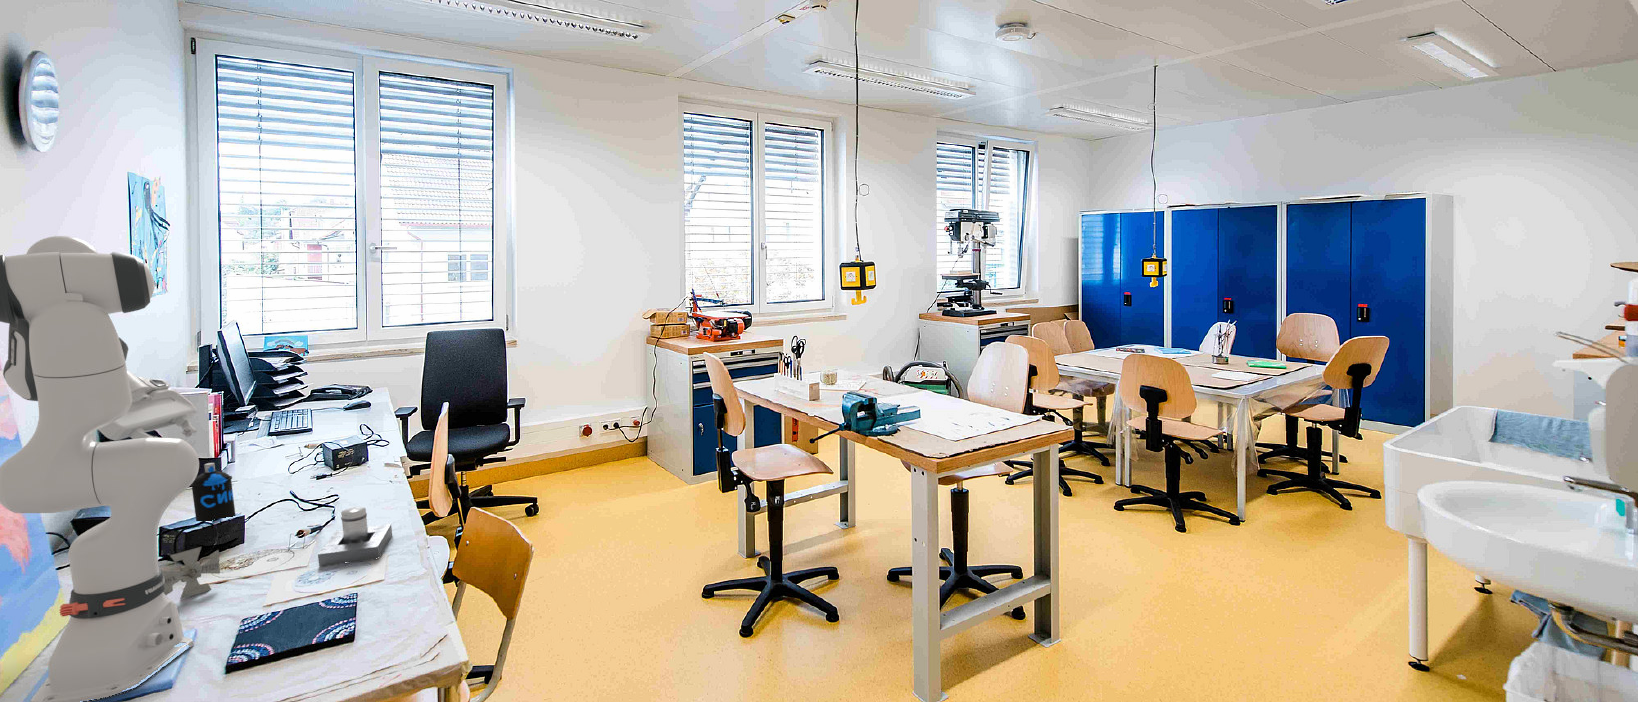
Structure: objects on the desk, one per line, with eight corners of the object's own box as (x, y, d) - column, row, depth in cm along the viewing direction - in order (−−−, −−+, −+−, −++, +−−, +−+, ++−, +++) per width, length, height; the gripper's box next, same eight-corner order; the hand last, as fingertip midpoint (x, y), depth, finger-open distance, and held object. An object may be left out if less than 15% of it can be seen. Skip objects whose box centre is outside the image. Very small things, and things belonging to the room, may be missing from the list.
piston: (367, 552, 178) (363, 512, 177) (342, 556, 177) (338, 515, 175) (372, 545, 183) (368, 505, 182) (347, 548, 182) (343, 508, 180)
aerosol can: (191, 543, 186) (181, 466, 184) (229, 532, 194) (220, 457, 191) (207, 549, 182) (197, 470, 180) (246, 537, 190) (236, 461, 187)
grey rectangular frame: (378, 558, 175) (377, 546, 174) (319, 566, 171) (317, 554, 170) (392, 535, 190) (391, 524, 189) (337, 542, 186) (336, 530, 185)
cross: (219, 584, 162) (213, 540, 161) (225, 586, 161) (220, 542, 160) (160, 604, 153) (154, 557, 152) (166, 606, 152) (160, 560, 151)
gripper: (87, 395, 151) (143, 441, 152) (171, 378, 171) (220, 419, 172) (68, 417, 151) (124, 462, 153) (154, 398, 171) (202, 438, 173)
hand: (175, 439), depth 163 cm, fingers open, 8 cm apart
